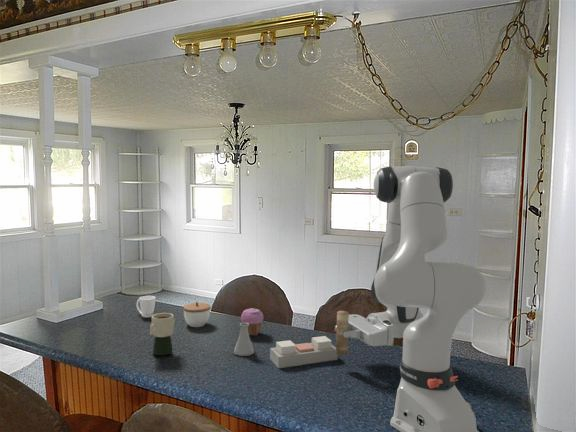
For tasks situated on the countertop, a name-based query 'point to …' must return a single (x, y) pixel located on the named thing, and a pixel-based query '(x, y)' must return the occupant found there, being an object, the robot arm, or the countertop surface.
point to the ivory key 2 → (321, 343)
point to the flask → (244, 342)
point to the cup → (146, 305)
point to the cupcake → (252, 320)
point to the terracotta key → (304, 347)
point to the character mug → (162, 332)
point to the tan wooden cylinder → (341, 326)
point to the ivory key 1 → (285, 347)
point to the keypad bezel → (302, 357)
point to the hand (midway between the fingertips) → (339, 331)
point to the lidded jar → (196, 314)
